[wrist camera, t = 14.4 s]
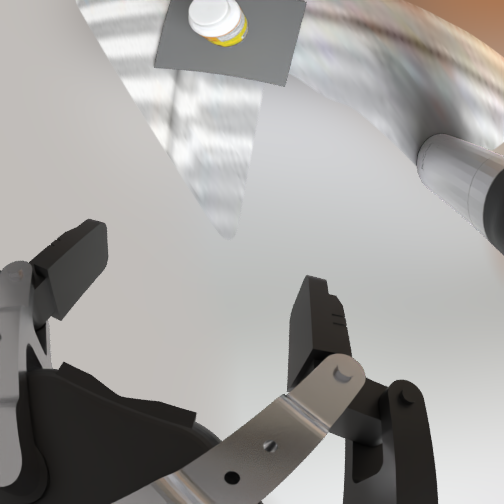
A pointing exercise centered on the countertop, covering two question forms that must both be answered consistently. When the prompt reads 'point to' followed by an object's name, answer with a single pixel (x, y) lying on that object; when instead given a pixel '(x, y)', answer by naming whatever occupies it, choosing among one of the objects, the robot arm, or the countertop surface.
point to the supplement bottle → (218, 21)
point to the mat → (243, 54)
